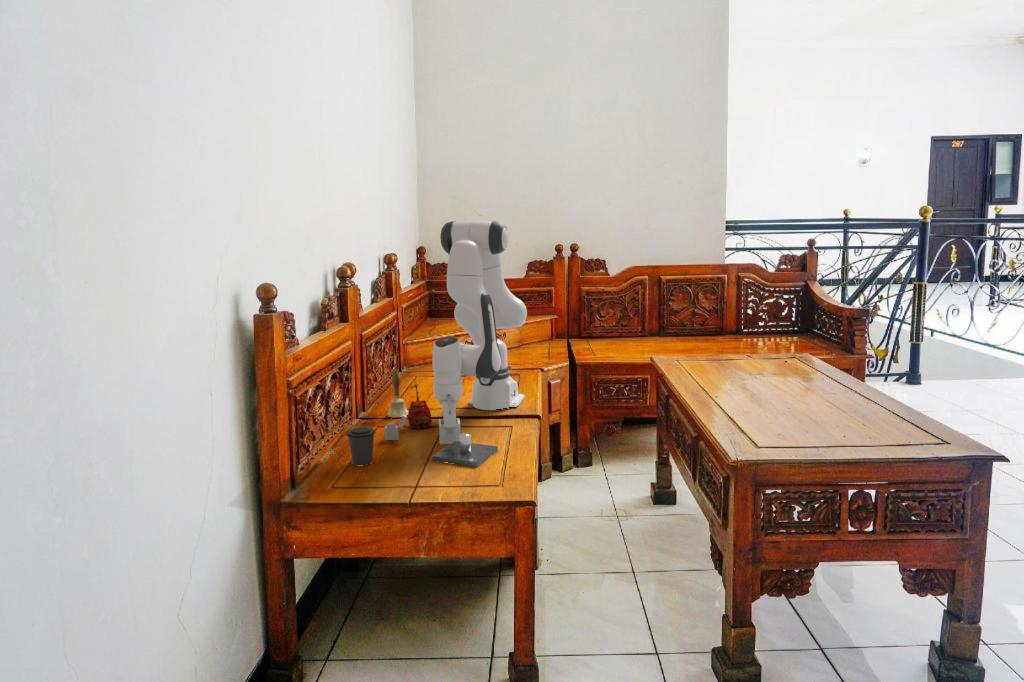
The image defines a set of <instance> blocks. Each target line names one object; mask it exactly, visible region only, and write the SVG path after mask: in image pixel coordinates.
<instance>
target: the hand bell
mask: <svg viewBox="0 0 1024 682" xmlns="http://www.w3.org/2000/svg"><path fill="white" fill-rule="evenodd" d="M400 379H401V377H400V375H399V372H398V369H397V370H396V369H395V370H393V371H392V376H391V380H392V381H391V382H392V386H393V389H394V398H393V399H392V400H391V401H390V409H389V411H388V412H387V413H388V414H387V413H386V415H389V416H391V417H403V414H405V415H408V411H409V409H408V408H407V407H406V404H405V400H404V399H403V398H401V397H400V384H401V380H400Z"/></svg>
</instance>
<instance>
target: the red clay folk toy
mask: <svg viewBox="0 0 1024 682" xmlns="http://www.w3.org/2000/svg"><path fill="white" fill-rule="evenodd" d="M414 382H415V384H414V385H410V386H409V387H410V389H413V388H415V390H416V392H415V393H416V401H413V400H412V401H411V402H410V406H409V408H408V417H407V419H408V421H407V423H408V425H409V428H410V429H412V430H414V429H415V430H418V429H423V430H424V429H428V428H431V424H432V413H431V409H430V407H429V405H428V404H427V401H426V400H424V399H423V400H420V397H419V394H420V393H419V392H420V391H418V385H419V383H418V384H417V381H416V380H415V381H414Z"/></svg>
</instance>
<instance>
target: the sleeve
mask: <svg viewBox="0 0 1024 682" xmlns="http://www.w3.org/2000/svg"><path fill="white" fill-rule="evenodd" d="M438 431H439V432H438V435H439V436H438V437H439V445H450V443H453V442H455V441H459V442H460V439H459V434H461V432H462V431H461V421H460V418H459V417H456V428H455V429H454V431H453V439H448V438H447V429H445V428H444V420H443V418H439V419H438Z"/></svg>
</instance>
